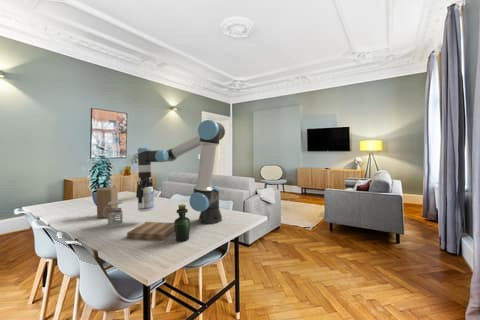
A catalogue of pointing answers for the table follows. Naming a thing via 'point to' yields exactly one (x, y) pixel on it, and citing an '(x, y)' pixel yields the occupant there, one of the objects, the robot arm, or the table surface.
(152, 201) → the supplement tub
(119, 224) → the french press
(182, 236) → the potion bottle
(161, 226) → the walnut base
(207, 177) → the robot arm
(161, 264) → the table surface
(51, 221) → the table surface
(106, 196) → the block
